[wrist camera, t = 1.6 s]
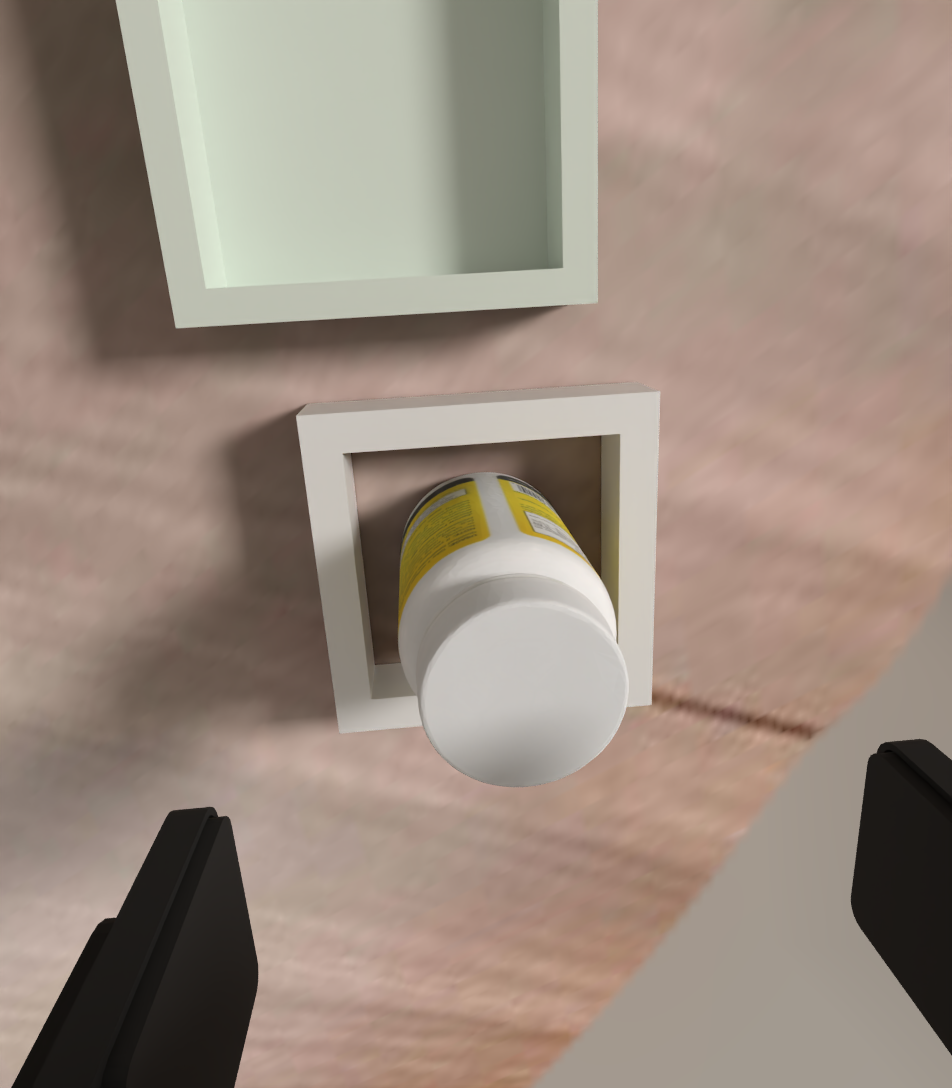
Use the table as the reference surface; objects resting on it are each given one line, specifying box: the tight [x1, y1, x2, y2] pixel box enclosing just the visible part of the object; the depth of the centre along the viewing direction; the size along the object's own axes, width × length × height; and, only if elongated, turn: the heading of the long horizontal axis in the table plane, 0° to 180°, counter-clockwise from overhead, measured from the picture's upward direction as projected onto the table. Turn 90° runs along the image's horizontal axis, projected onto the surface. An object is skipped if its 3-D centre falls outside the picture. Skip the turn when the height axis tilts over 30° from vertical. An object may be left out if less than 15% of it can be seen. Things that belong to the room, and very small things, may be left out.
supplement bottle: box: [398, 472, 629, 787], centre depth 17 cm, size 5×5×8 cm
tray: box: [116, 0, 598, 328], centre depth 16 cm, size 10×10×2 cm
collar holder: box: [296, 382, 660, 734], centre depth 20 cm, size 9×9×2 cm
